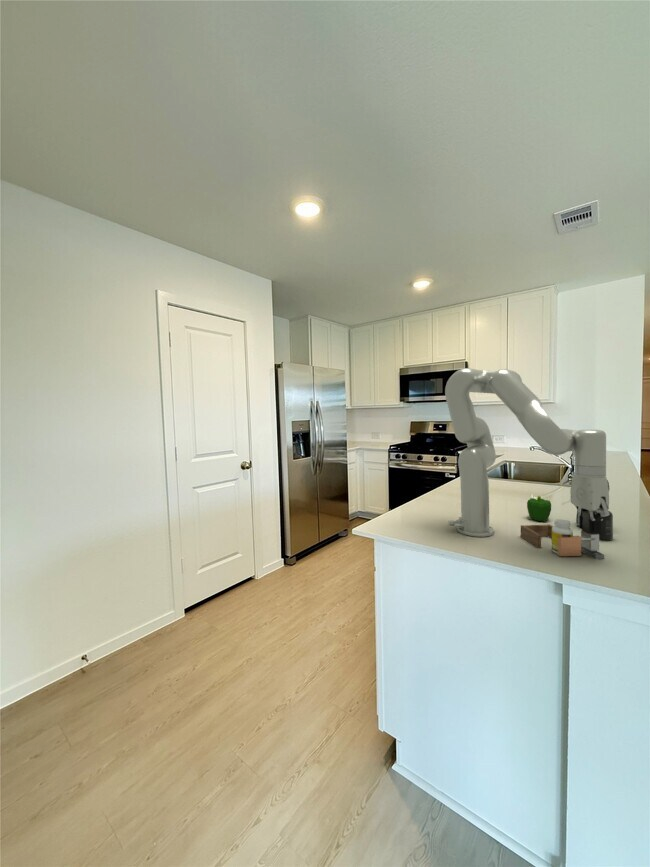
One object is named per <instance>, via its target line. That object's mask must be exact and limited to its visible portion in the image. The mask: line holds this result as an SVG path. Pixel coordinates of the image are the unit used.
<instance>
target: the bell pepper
mask: <svg viewBox="0 0 650 867" xmlns="http://www.w3.org/2000/svg"><path fill="white" fill-rule="evenodd" d="M536 498H537V499H536ZM536 498H530V499H528V500H527V502H526V509H527V512H528V515H529V518H530V519H532V520H535V521H539V522H545V521H547V520H548V519H549V518H550V515H551V512H552V503H551V500H548V499H544V498H542V497H541V496H540V495H537V497H536Z"/></svg>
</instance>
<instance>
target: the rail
mask: <svg viewBox="0 0 650 867" xmlns="http://www.w3.org/2000/svg"><path fill="white" fill-rule="evenodd" d="M581 553H584V554H586V555H587V556H589V557H591V558H593V559H595V560H605V554H604V553H602V552H599V551H590V550H588V549H586V548H584V547H582V546H581Z"/></svg>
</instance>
